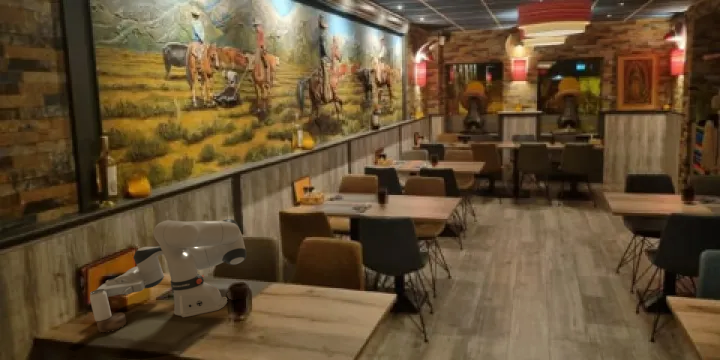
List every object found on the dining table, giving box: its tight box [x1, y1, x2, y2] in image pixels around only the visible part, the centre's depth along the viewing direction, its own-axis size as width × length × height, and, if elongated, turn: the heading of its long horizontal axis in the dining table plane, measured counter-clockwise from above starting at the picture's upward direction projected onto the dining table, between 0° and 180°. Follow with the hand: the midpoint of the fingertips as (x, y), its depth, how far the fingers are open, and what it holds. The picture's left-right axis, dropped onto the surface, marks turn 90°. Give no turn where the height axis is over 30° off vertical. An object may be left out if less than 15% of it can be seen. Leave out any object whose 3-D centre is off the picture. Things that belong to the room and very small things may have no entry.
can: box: [89, 289, 112, 323], centre depth 238 cm, size 6×6×12 cm
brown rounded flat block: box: [96, 312, 127, 333], centre depth 239 cm, size 11×11×4 cm
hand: (113, 294), depth 244 cm, fingers open, 8 cm apart
